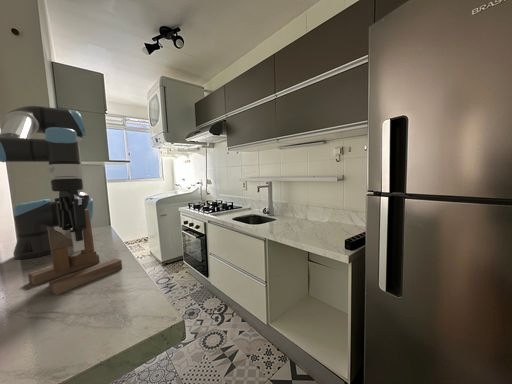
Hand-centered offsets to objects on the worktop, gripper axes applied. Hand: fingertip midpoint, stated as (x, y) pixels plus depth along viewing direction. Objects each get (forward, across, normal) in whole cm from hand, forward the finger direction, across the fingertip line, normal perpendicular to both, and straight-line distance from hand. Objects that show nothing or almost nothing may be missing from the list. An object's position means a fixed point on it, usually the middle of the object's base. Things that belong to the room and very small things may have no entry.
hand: (75, 249), depth 71 cm
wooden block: (+6, 0, 0) cm, 6 cm away
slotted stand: (+9, 0, 0) cm, 9 cm away
